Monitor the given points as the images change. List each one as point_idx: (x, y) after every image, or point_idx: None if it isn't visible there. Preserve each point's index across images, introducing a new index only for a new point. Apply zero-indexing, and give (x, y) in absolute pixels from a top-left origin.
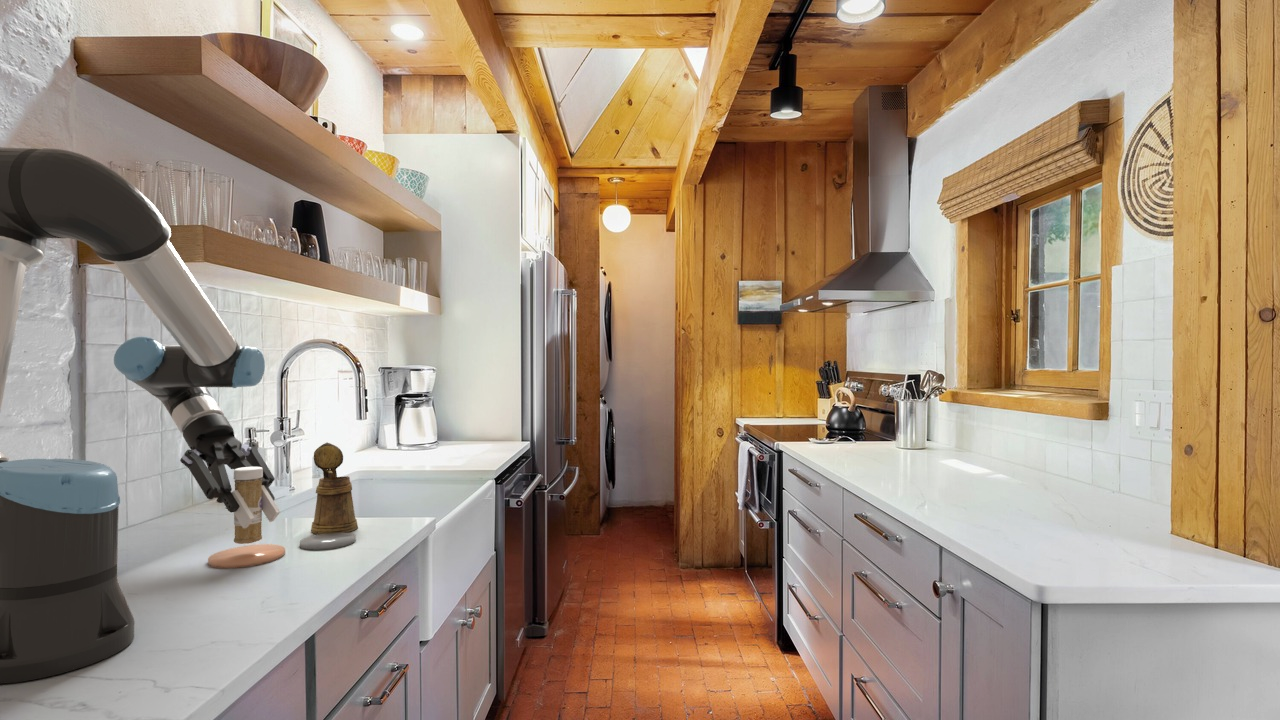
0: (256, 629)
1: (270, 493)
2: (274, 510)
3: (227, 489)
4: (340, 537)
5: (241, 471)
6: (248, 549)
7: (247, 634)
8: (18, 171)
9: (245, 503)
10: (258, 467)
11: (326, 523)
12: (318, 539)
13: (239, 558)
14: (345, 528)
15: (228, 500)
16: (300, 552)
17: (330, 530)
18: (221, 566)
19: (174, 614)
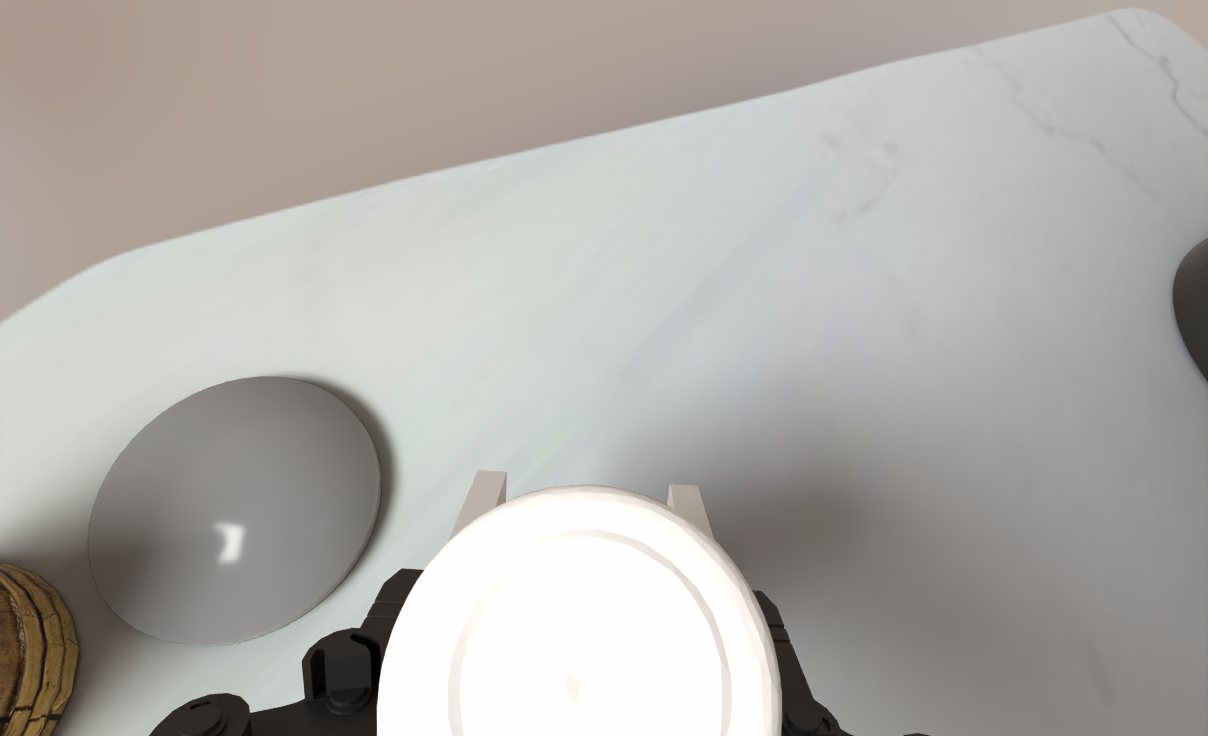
0: (964, 107)
1: (385, 613)
2: (501, 492)
3: (812, 715)
4: (204, 457)
5: (754, 601)
6: None
7: (987, 105)
8: None
9: None
10: (487, 573)
11: (8, 653)
12: (255, 536)
13: None
14: (3, 567)
15: (792, 660)
16: (424, 500)
17: (50, 623)
18: None
19: (1056, 334)
